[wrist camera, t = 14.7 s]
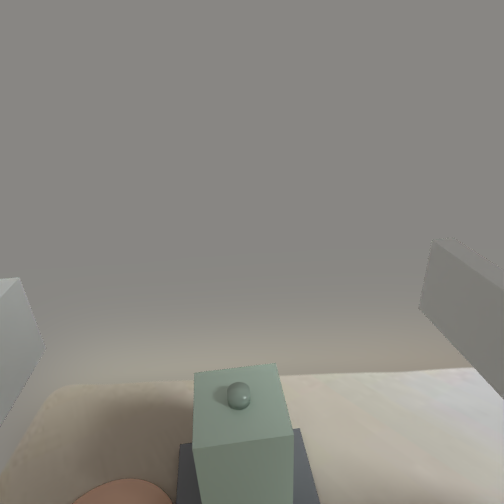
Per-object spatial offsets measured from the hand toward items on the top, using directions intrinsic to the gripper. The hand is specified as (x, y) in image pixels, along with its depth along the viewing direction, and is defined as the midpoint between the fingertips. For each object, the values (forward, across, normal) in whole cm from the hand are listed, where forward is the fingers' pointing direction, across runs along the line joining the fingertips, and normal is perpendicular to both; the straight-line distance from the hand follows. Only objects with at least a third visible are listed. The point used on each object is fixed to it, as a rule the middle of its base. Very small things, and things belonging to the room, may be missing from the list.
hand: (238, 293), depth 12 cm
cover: (+13, 0, -31) cm, 34 cm away
